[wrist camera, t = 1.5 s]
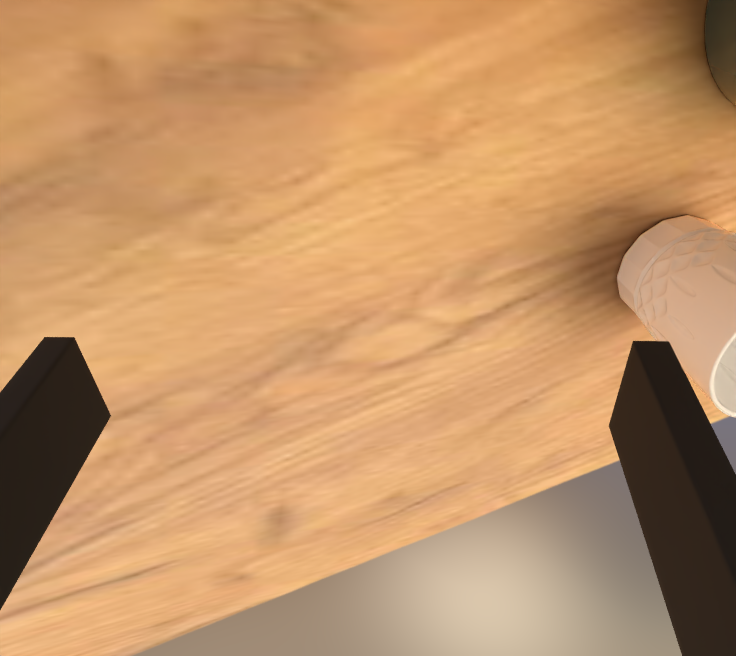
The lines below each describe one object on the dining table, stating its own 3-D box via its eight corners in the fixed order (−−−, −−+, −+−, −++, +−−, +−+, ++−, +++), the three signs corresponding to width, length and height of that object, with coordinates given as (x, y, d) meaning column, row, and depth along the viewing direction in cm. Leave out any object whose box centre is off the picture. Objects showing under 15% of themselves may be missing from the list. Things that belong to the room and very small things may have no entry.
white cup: (751, 220, 36) (901, 302, 28) (682, 327, 40) (795, 427, 32) (648, 191, 34) (778, 271, 26) (584, 308, 38) (679, 410, 29)
